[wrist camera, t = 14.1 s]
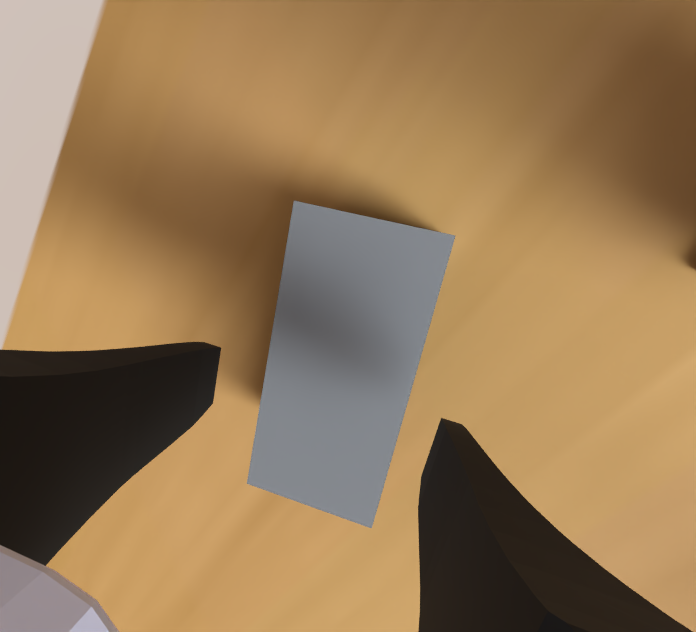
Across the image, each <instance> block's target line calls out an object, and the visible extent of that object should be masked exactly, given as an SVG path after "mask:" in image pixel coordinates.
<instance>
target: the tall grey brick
mask: <svg viewBox="0 0 696 632" xmlns="http://www.w3.org/2000/svg"><path fill="white" fill-rule="evenodd" d="M454 239H455V236H454V235H450V234H445V233H441V232H436V231H431V230H427V229H422V228H418V227H413V226H409V225H404V224H399V223H395V222H390V221H386V220H381V219H376V218H372V217H367V216H363V215H358V214H353V213H349V212H344V211H340V210H335V209H330V208H326V207H321V206H317V205H312V204H307V203H303V202H298V201H294V203H293V209H292V215H291V221H290V227H289V233H288V239H287V245H286V251H285V257H284V263H283V269H282V275H281V281H280V287H279V293H278V299H277V305H276V311H275V317H274V323H273V329H272V336H271V342H270V348H269V354H268V360H267V366H266V372H265V378H264V384H263V390H262V396H261V402H260V408H259V414H258V420H257V426H256V432H255V438H254V444H253V450H252V456H251V462H250V468H249V474H248V480H247V484H250V485H252V486H255V487H258V488H261V489H263V490H266V491H269V492H272V493H275V494H277V495H280V496H283V497H286V498H289V499H291V500H294V501H297V502H300V503H302V504H305V505H308V506H311V507H314V508H316V509H319V510H322V511H325V512H327V513H330V514H333V515H336V516H339V517H341V518H344V519H347V520H350V521H352V522H355V523H358V524H361V525H364V526H366V527H369V528H372V525H373V522H374V518H375V515H376V511H377V508H378V504H379V501H380V497H381V494H382V490H383V487H384V483H385V480H386V476H387V473H388V469H389V466H390V462H391V459H392V455H393V452H394V448H395V445H396V441H397V438H398V434H399V431H400V427H401V424H402V420H403V417H404V413H405V410H406V406H407V403H408V399H409V396H410V392H411V389H412V385H413V382H414V378H415V375H416V371H417V368H418V364H419V361H420V357H421V354H422V350H423V347H424V343H425V340H426V336H427V333H428V329H429V326H430V323H431V319H432V316H433V312H434V309H435V305H436V302H437V298H438V295H439V291H440V288H441V284H442V281H443V277H444V274H445V270H446V267H447V263H448V260H449V256H450V253H451V249H452V246H453V242H454Z"/></svg>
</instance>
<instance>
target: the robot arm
mask: <svg viewBox="0 0 696 632" xmlns="http://www.w3.org/2000/svg"><path fill="white" fill-rule="evenodd" d="M220 351H221V348H220V347H217V346H214V345H211V344H208V343H205V342H186V343H174V344H164V345H155V346H145V347H135V348H122V349H110V350H96V351H60V352H46V351H19V350H0V632H119V631H118V630H117V628H116V627H115V625H114V624H113V623H112V621H111V620H110V618H109V617H108V615H107V614H106V613H105V611H104V610H103V608H102V607H101V606H100V604H99V603H98V601H97V600H96V599H94V598H93V597H91V596H90V595H89V594H87V593H86V592H84V591H83V590H82V589H80V588H79V587H77V586H76V585H75V584H73V583H72V582H70V581H69V580H68V579H66V578H65V577H63V576H62V575H60V574H59V573H58V572H56V571H55V570H53V569H51V568H49V567H46V565H47V563H48V562H49V561H50V560H51V559H52V558H53V557H54V556H55V554H56V553H57V552H58V551H59V550H60V549H61V548H62V547H63V546H64V545H65V544H66V543H67V542H68V540H69V539H70V538H71V537H72V536H73V535H74V534H75V533H76V532H77V531H78V530H79V529H80V528H81V527H82V526H83V525H84V523H85V522H86V521H87V520H88V519H89V518H90V517H91V516H92V515H93V514H94V513H95V512H96V511H97V510H98V509H99V508H100V507H101V506H102V505H103V504H104V503H105V502H106V501H107V500H108V499H109V498H110V497H111V496H112V495H113V494H114V493H115V492H116V491H117V490H118V489H119V488H120V487H121V486H122V485H123V484H124V483H126V482H127V481H128V480H129V479H130V478H131V477H132V476H133V475H135V474H136V473H137V472H138V471H139V470H141V469H142V468H143V467H144V466H145V465H147V464H148V463H149V462H150V461H151V460H153V459H154V458H155V457H156V456H157V455H159V454H160V453H161V452H162V451H163V450H165V449H166V448H167V447H168V446H170V445H171V444H172V443H173V442H174V441H176V440H177V439H178V438H179V437H180V436H181V435H183V434H184V433H185V432H186V431H187V430H188V429H190V428H191V427H192V426H193V425H194V424H195V423H196V422H197V421H198V420H199V418H200V417H201V416H202V415H203V414H204V413H205V412H206V411H207V409H208V408H209V407H210V406H211V405H212V404H213V399H214V392H215V385H216V378H217V371H218V365H219V358H220ZM418 520H419V558H420V618H419V632H692V631H691V630H689V629H688V628H686V627H685V626H683V625H682V624H680V623H679V622H677V621H675V620H674V619H673V618H671V617H670V616H668V615H667V614H665V613H664V612H662V611H661V610H660V609H658V608H657V607H656V606H654V605H653V604H651V603H650V602H649V601H647V600H646V599H644V598H643V597H642V596H640V595H639V594H637V593H636V592H635V591H633V590H632V589H630V588H629V587H628V586H626V585H625V584H624V583H622V582H621V581H620V580H618V579H617V578H616V577H614V576H613V575H612V574H611V573H609V572H608V571H607V570H605V569H604V568H603V567H601V566H600V565H599V564H598V563H597V562H595V561H594V560H593V559H592V558H590V557H589V556H588V555H587V554H586V553H584V552H583V551H582V550H581V549H579V548H578V547H577V546H576V545H575V544H573V543H572V542H571V541H570V540H569V539H568V538H566V537H565V536H564V535H563V534H562V533H561V532H560V531H558V530H557V529H556V528H555V527H554V526H553V525H552V524H551V523H550V522H549V521H548V520H547V519H546V518H545V517H544V516H542V515H541V514H540V513H539V512H538V511H537V510H536V509H535V508H534V507H533V506H532V505H531V504H530V503H529V502H528V501H527V500H526V499H525V498H524V497H523V496H522V495H521V494H520V492H519V491H518V490H517V489H516V488H515V487H514V486H513V485H512V484H511V483H510V482H509V480H508V479H507V478H506V477H505V476H504V475H503V474H502V472H501V471H500V470H499V469H498V468H497V466H496V465H495V464H494V463H493V462H492V460H491V459H490V458H489V457H488V455H487V454H486V453H485V452H484V450H483V449H482V448H481V447H480V445H479V444H478V443H477V442H476V440H475V439H474V438H473V436H472V435H471V434H470V433H469V431H468V430H467V429H466V428H465V427H464V426H463V425H462V424H459V423H456V422H452V421H449V420H446V419H443V418H441V421H440V423H439V426H438V429H437V432H436V435H435V438H434V441H433V444H432V447H431V450H430V453H429V456H428V458H427V461H426V464H425V467H424V470H423V473H422V477H421V486H420V495H419V505H418Z"/></svg>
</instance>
